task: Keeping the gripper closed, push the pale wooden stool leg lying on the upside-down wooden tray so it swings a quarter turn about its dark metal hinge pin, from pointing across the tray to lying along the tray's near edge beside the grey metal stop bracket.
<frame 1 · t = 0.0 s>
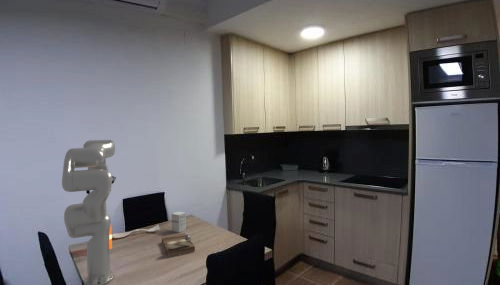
hand: (99, 193, 148), 37 cm above the table, tool pointing down, fingers open, 9 cm apart
cream wavy strip: (136, 235, 186), on the table
wooden tray: (177, 246, 164), on the table
supplement box: (179, 230, 192), on the table
orange juice: (102, 248, 163), on the table
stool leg: (178, 243, 156), point 5 cm above the table, hinge at 90.0°
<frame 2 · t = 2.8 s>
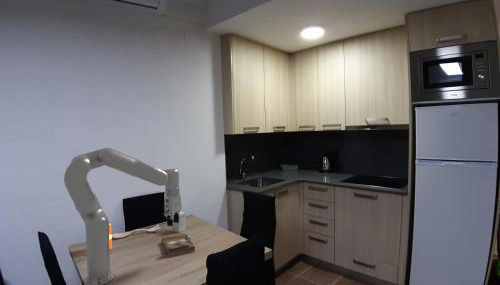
hand: (173, 223, 148), 19 cm above the table, tool pointing down, fingers open, 5 cm apart
nothing on the table moved.
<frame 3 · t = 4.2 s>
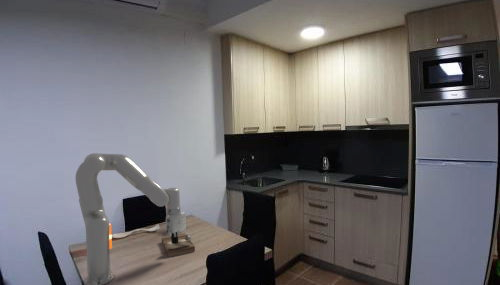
hand: (174, 243, 149), 8 cm above the table, tool pointing down, fingers closed
nothing on the table moved.
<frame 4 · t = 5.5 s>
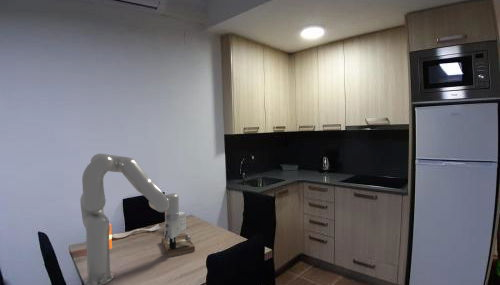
hand: (172, 248, 151), 5 cm above the table, tool pointing down, fingers closed
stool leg: (178, 243, 156), point 5 cm above the table, hinge at 88.3°, touching gripper
everything else where it was.
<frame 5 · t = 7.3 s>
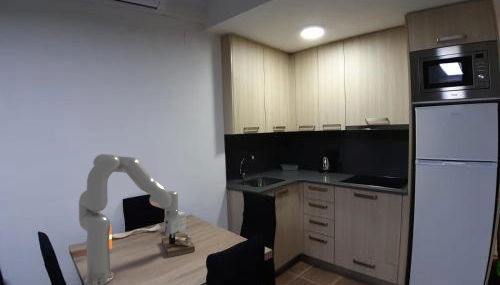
hand: (172, 243, 158), 5 cm above the table, tool pointing down, fingers closed
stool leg: (180, 240, 160), point 5 cm above the table, hinge at 42.6°, touching gripper
everything else where it was.
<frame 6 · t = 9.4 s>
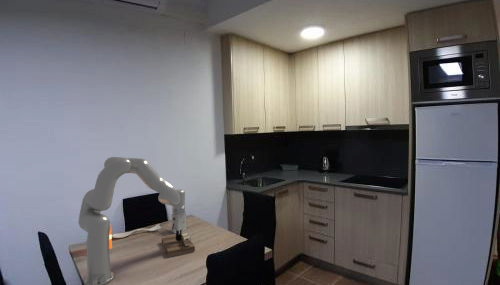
hand: (178, 240, 164), 4 cm above the table, tool pointing down, fingers closed
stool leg: (185, 239, 162), point 5 cm above the table, hinge at -2.5°, touching gripper, wooden tray
everything else where it was.
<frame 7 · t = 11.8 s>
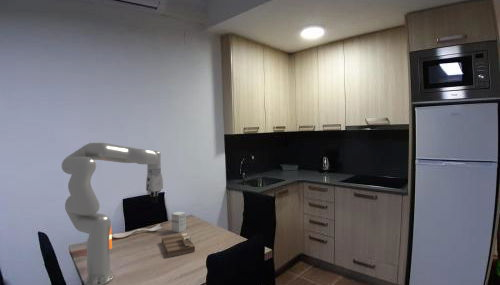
hand: (154, 202, 160), 29 cm above the table, tool pointing down, fingers closed
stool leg: (185, 239, 162), point 5 cm above the table, hinge at -2.5°, touching wooden tray
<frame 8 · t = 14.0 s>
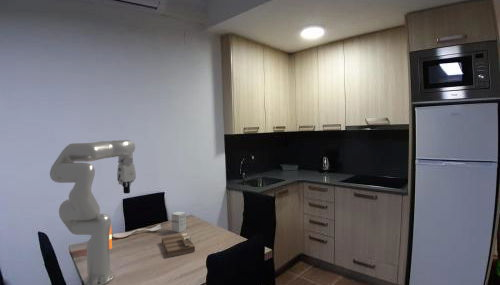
hand: (126, 193, 156), 35 cm above the table, tool pointing down, fingers closed
at the end: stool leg at -2° (first picture: +90°) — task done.
